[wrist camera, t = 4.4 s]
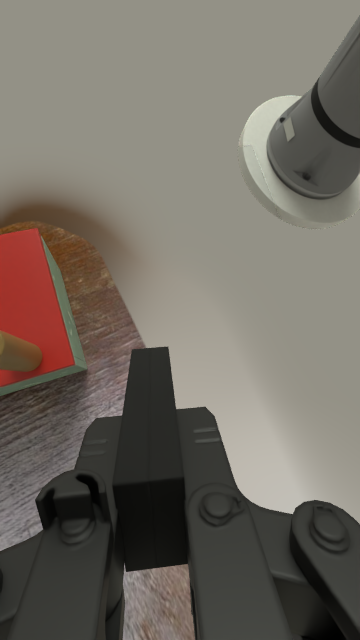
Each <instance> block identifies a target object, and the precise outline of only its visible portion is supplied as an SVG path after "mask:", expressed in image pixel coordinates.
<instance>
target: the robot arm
mask: <svg viewBox="0 0 360 640" xmlns="http://www.w3.org/2000/svg"><path fill="white" fill-rule="evenodd" d="M266 148H267V156H268V159H269V162H270V165H271V167H272V169H273V171H274V172H275V174H276V175H277V177H278V178H279V179H280V180H281V181H282V182H283V183H284V184H285V185H286V186H287V187H288V188H290V189H291V190H292V191H294V192H296V193H297V194H299V195H302V196H304V197H307V198H311V199H317V200H325V199H330V198H333V197H336V196H338V195H339V194H341V193H342V192H343V191H344V190H346V189H347V188H348V187H349V186H350V185H351V184H352V183H353V182H354V180H355V179H356V178H357V176H358V175H359V173H360V16H359V17H358V19H357V20H356V22H355V24H354V25H353V26H352V28H351V29H350V31H349V32H348V34H347V36H346V37H345V39H344V40H343V42H342V43H341V45H340V46H339V48H338V49H337V51H336V52H335V54H334V55H333V57H332V59H331V60H330V62H329V63H328V65H327V66H326V68H325V69H324V71H323V72H322V74H321V75H320V77H319V78H318V80H317V82H316V83H315V85H314V86H313V87H312V89H310V90H309V91H308V92H307V93H306V94H305V95H303V96H302V97H301V98H300V99H299V100H297V101H296V102H295V103H294V104H293V105H292V106H290V107H289V108H288V109H287V110H286V111H285V112H284V113H283V114H282V115H281V116H280V117H279V118H278V119H277V121H276V122H275V124H274V125H273V127H272V129H271V130H270V132H269V135H268V138H267V145H266ZM35 502H36V505H37V509H38V512H39V516H40V519H41V523H42V526H43V530H42V531H41V532H39V533H38V534H37V535H35V536H33V537H31V538H29V539H27V540H26V541H23V542H21V543H19V544H16V545H14V546H12V547H9V548H7V549H4V550H2V551H0V640H122V639H123V624H124V610H125V599H124V589H123V574H124V562H125V568H126V572H129V571H137V570H145V569H152V568H160V567H168V566H175V565H183V564H188V567H189V577H190V594H191V612H192V615H193V624H194V634H195V640H360V524H359V523H358V522H357V521H356V520H355V519H354V518H353V517H351V516H350V515H349V514H348V513H347V512H345V511H344V510H343V509H341V508H339V507H337V506H335V505H333V504H331V503H328V502H323V501H318V500H314V501H307V502H304V503H302V504H301V505H299V506H298V507H296V508H295V511H294V513H293V514H289V513H284V512H279V511H274V510H269V509H266V508H263V507H259V506H258V505H256V504H254V503H252V502H251V501H249V500H248V499H247V498H246V497H245V496H244V495H243V494H242V493H241V492H240V490H239V489H238V487H237V485H236V483H235V480H234V477H233V474H232V471H231V467H230V464H229V461H228V458H227V455H226V451H225V448H224V445H223V442H222V439H221V435H220V432H219V430H218V426H217V423H216V419H215V416H214V415H213V414H212V413H211V412H210V411H209V410H208V409H207V408H206V407H197V408H188V409H176V406H175V398H174V389H173V381H172V374H171V366H170V357H169V349H168V347H157V348H144V349H132V354H131V360H130V367H129V374H128V381H127V387H126V394H125V401H124V407H123V414H122V416H114V417H103V418H96V419H95V420H94V421H93V422H92V424H91V425H90V426H89V427H88V428H87V429H86V432H85V435H84V439H83V442H82V446H81V448H80V452H79V457H78V458H77V461H76V465H75V468H74V470H70V471H66V472H64V473H62V474H60V475H59V476H57V477H55V478H53V479H52V480H51V481H50V482H49V483H48V484H46V485H45V486H44V487H43V488H42V490H41V491H40V493H39V494H38V496H37V498H36V499H35Z"/></svg>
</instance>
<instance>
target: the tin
mask: <svg viewBox="0 0 360 640" xmlns="http://www.w3.org/2000/svg"><path fill="white" fill-rule="evenodd" d="M41 238H42V236H41ZM42 241H43V245H44V249H45V252H46V256H47V260H48V264H49V267H50V271H51V275H52V278H53V282H54V286H55V289H56V293H57V297H58V300H59V304H60V308H61V311H62V315H63V319H64V322H65V326H66V330H67V333H68V337H69V341H70V344H71V348H72V352H73V356H74V359H75V363H76V365H75V366H72V367H68V368H65V369H62V370H58V371H55V372H52V373H48V374H45V375H42V376H38V377H35V378H32V379H28V380H25V381H22V382H19V383H15V384H12V385H9V386H5V387H2V388H0V396H2V395H5V394H8V393H12V392H15V391H18V390H21V389H25V388H28V387H31V386H34V385H38V384H41V383H44V382H47V381H51V380H54V379H57V378H60V377H64V376H67V375H70V374H73V373H77V372H80V371H83V370H86V369H88V368H87V365H86V361H85V358H84V354H83V350H82V347H81V343H80V340H79V336H78V332H77V329H76V325H75V321H74V318H73V314H72V311H71V307H70V303H69V300H68V296H67V293H66V289H65V285H64V282H63V278H62V274H61V271H60V269H59V268H58V266H57V264H56V262H55V260H54V258H53V257H52V255H51V253H50V251H49V249H48V247H47V246H46V244H45V242H44V240H43V238H42Z"/></svg>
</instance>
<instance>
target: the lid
mask: <svg viewBox="0 0 360 640" xmlns="http://www.w3.org/2000/svg"><path fill="white" fill-rule="evenodd" d="M75 365H76V363H75V359H74V356H73V352H72V348H71V344H70V341H69V337H68V333H67V330H66V326H65V322H64V319H63V315H62V311H61V308H60V304H59V300H58V297H57V293H56V289H55V286H54V282H53V278H52V275H51V271H50V267H49V264H48V260H47V256H46V252H45V249H44V245H43V241H42V238H41V234H40V233H39V231H38V229H37V228H35V229H29V230H24V231H18V232H13V233H7V234H2V235H0V388H2V387H5V386H9V385H12V384H15V383H19V382H22V381H25V380H28V379H32V378H35V377H38V376H42V375H45V374H48V373H52V372H55V371H58V370H62V369H65V368H68V367H72V366H75Z"/></svg>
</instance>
